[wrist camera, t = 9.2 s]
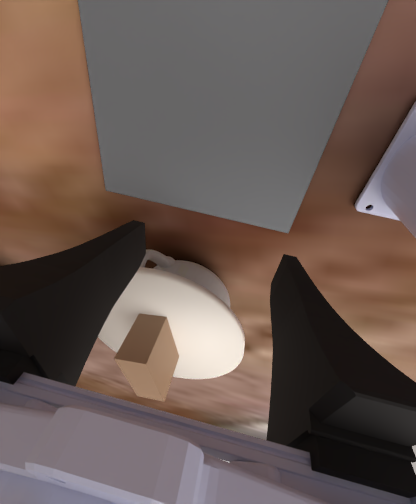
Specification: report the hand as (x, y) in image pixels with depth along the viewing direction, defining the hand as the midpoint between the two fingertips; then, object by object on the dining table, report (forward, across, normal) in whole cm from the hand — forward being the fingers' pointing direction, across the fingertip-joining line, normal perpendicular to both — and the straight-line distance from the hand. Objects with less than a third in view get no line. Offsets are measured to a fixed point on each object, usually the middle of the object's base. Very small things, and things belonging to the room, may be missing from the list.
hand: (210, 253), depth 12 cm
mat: (+10, +3, -5) cm, 12 cm away
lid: (+2, +3, +12) cm, 13 cm away
